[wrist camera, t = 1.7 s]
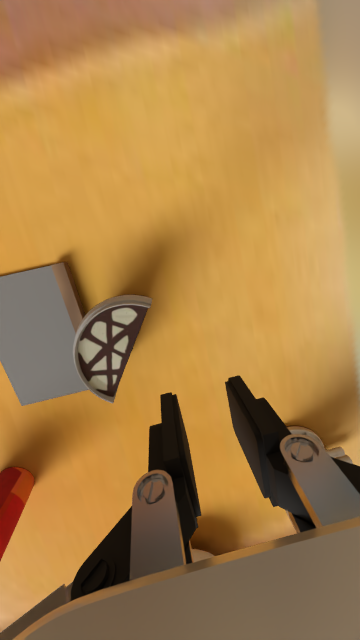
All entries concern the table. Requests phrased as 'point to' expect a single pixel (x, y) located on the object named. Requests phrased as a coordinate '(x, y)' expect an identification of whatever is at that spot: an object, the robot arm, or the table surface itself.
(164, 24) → the table surface
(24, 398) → the mat
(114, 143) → the table surface
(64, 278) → the rail
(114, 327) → the food container
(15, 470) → the paper cup
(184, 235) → the table surface
